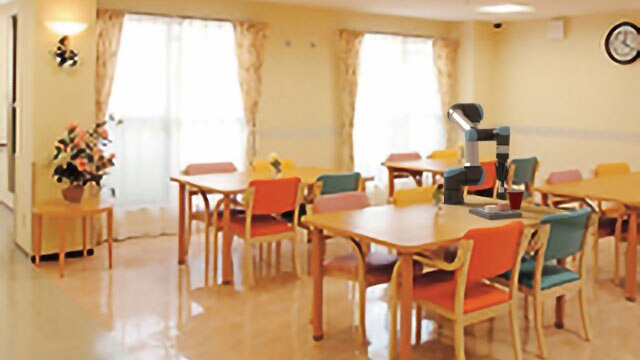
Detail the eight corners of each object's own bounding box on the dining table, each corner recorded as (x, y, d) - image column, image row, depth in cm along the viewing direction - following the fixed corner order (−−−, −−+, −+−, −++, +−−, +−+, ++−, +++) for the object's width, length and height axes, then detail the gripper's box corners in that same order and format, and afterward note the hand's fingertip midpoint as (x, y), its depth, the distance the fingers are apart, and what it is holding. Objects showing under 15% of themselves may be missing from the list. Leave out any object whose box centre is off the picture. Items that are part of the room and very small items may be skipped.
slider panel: (468, 212, 388) (468, 208, 387) (500, 210, 394) (500, 205, 394) (489, 219, 367) (489, 214, 367) (522, 217, 374) (522, 212, 373)
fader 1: (484, 211, 375) (484, 205, 374) (493, 211, 376) (493, 205, 376) (488, 213, 371) (488, 207, 370) (497, 212, 373) (497, 206, 372)
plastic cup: (513, 206, 406) (514, 188, 405) (527, 209, 397) (528, 190, 396) (501, 208, 400) (502, 189, 399) (515, 211, 391) (516, 191, 390)
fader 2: (497, 208, 383) (497, 203, 383) (505, 208, 385) (506, 202, 385) (501, 210, 380) (501, 204, 379) (509, 209, 382) (510, 203, 381)
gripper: (490, 151, 385) (489, 190, 389) (503, 153, 373) (502, 194, 377) (501, 151, 388) (500, 190, 391) (514, 153, 376) (513, 193, 379)
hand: (501, 192), depth 384 cm, fingers closed
